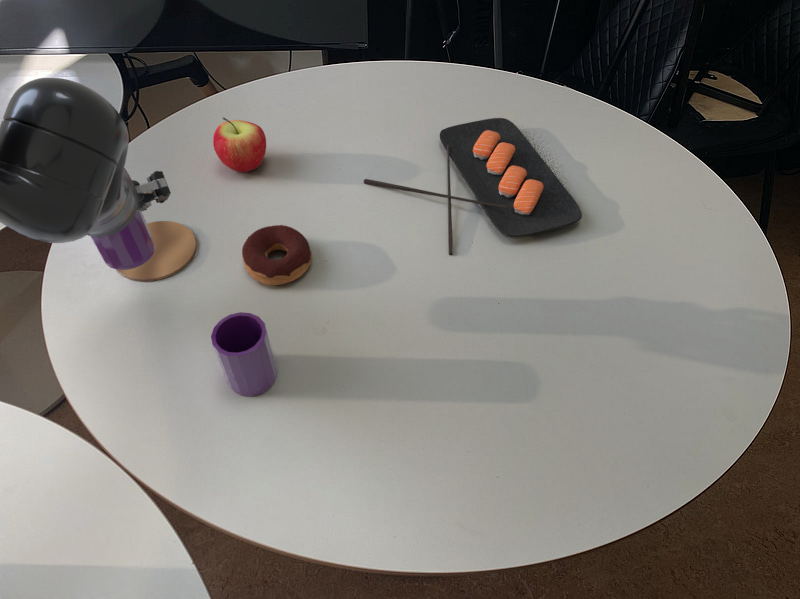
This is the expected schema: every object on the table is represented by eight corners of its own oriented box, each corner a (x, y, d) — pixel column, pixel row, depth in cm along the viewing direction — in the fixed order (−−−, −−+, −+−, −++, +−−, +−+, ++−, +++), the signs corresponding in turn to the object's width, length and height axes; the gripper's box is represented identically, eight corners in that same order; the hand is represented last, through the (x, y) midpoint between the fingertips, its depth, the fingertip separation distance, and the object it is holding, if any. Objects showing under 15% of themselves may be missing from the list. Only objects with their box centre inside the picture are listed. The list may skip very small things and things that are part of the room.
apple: (214, 158, 103) (200, 107, 96) (261, 145, 106) (251, 94, 98) (228, 187, 99) (214, 135, 91) (277, 172, 101) (267, 121, 93)
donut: (313, 286, 85) (310, 267, 82) (243, 292, 85) (238, 273, 82) (311, 236, 92) (308, 217, 89) (246, 241, 91) (241, 222, 88)
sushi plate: (586, 227, 94) (593, 209, 91) (406, 273, 87) (407, 255, 84) (506, 123, 111) (509, 105, 108) (350, 155, 104) (349, 136, 101)
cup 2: (231, 402, 74) (215, 362, 67) (224, 361, 77) (207, 319, 70) (281, 388, 75) (270, 347, 68) (272, 349, 79) (260, 306, 72)
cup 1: (103, 275, 72) (72, 219, 65) (102, 240, 76) (73, 184, 69) (157, 263, 73) (132, 208, 66) (153, 229, 77) (130, 173, 70)
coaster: (114, 289, 85) (113, 287, 84) (112, 232, 92) (110, 230, 91) (201, 270, 87) (200, 268, 87) (192, 216, 94) (191, 213, 94)
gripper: (153, 132, 57) (159, 163, 73) (-12, 177, 53) (32, 199, 68) (183, 207, 58) (183, 222, 74) (24, 257, 54) (60, 261, 69)
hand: (111, 211), depth 71 cm, fingers closed on cup 1, 6 cm apart
